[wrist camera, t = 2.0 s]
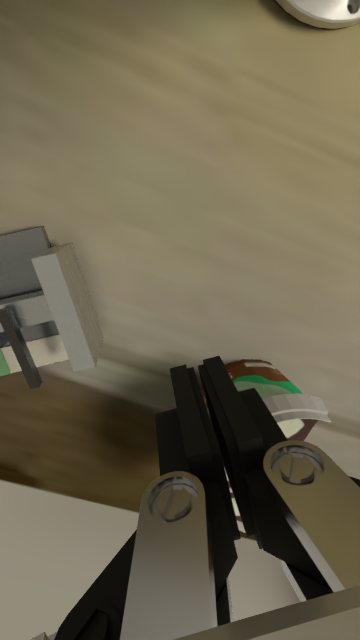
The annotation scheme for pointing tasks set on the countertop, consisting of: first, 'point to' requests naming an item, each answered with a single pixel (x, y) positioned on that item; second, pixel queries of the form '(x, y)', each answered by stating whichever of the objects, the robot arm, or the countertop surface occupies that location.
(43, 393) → the countertop surface
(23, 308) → the grey boxy piece
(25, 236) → the gauge body
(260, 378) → the food container
